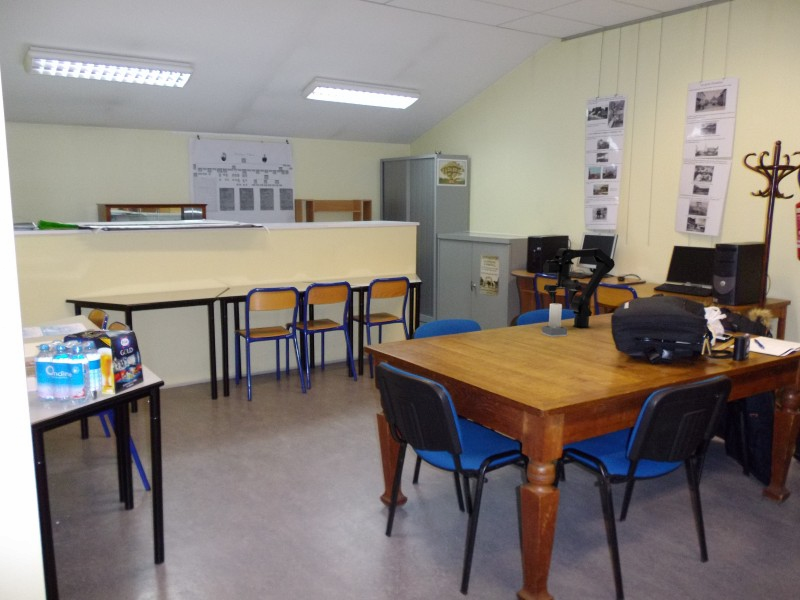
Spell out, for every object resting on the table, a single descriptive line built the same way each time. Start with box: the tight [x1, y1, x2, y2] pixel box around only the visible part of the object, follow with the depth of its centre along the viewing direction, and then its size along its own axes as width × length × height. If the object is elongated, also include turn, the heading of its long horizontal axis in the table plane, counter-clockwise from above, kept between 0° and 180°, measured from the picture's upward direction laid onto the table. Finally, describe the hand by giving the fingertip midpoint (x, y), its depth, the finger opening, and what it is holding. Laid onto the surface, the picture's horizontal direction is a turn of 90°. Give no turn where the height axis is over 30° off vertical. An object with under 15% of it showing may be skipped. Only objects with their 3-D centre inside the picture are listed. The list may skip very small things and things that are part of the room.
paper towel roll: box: [548, 302, 563, 329], centre depth 316 cm, size 6×6×14 cm
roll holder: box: [540, 325, 568, 338], centre depth 317 cm, size 9×9×4 cm
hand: (562, 304), depth 334 cm, fingers open, 9 cm apart
